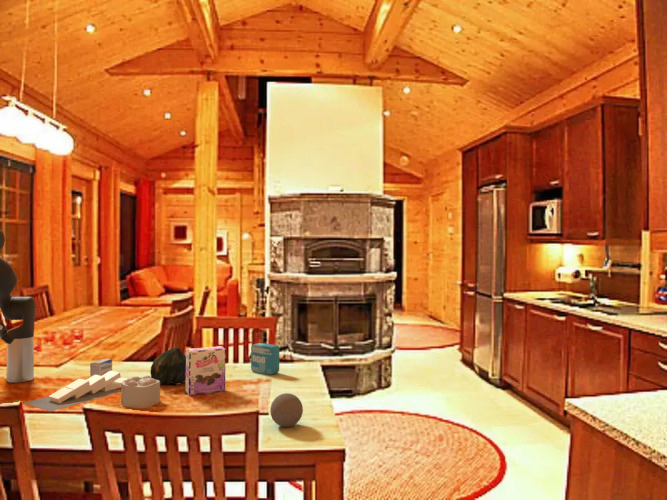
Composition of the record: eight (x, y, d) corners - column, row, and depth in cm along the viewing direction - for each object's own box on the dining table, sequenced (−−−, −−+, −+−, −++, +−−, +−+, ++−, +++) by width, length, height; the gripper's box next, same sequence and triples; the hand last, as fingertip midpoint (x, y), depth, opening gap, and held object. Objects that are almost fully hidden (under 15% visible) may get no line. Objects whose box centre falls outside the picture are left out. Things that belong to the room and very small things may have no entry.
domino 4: (105, 386, 195) (133, 379, 205) (96, 384, 198) (123, 377, 208) (105, 391, 195) (132, 384, 205) (96, 389, 198) (123, 381, 208)
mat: (23, 404, 180) (23, 402, 180) (95, 386, 203) (95, 384, 203) (49, 412, 172) (50, 411, 172) (122, 392, 195) (121, 391, 195)
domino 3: (91, 389, 190) (119, 372, 200) (82, 387, 193) (110, 370, 203) (93, 394, 191) (120, 376, 200) (84, 391, 194) (111, 374, 203)
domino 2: (75, 394, 185) (104, 376, 194) (65, 391, 188) (95, 374, 197) (76, 398, 185) (105, 381, 195) (67, 396, 188) (96, 378, 198)
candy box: (188, 396, 192) (188, 351, 192) (185, 392, 197) (185, 348, 197) (225, 391, 198) (226, 348, 198) (221, 387, 204) (221, 345, 203)
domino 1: (58, 398, 179) (88, 380, 189) (48, 396, 182) (79, 378, 192) (59, 403, 180) (90, 385, 190) (50, 400, 183) (80, 382, 193)
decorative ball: (264, 429, 160) (264, 396, 160) (279, 418, 169) (279, 387, 169) (294, 433, 156) (294, 400, 156) (307, 423, 166) (308, 391, 165)
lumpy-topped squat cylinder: (144, 409, 177) (144, 383, 177) (113, 404, 181) (113, 379, 181) (163, 400, 187) (164, 376, 187) (133, 396, 191) (133, 372, 191)
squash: (141, 368, 210) (155, 343, 204) (174, 363, 221) (189, 340, 215) (153, 397, 203) (168, 373, 196) (187, 391, 214) (202, 367, 207)
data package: (250, 371, 228) (251, 344, 228) (257, 369, 232) (257, 342, 232) (273, 375, 223) (273, 347, 222) (279, 373, 226) (279, 345, 226)
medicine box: (100, 385, 204) (100, 363, 204) (89, 384, 205) (89, 362, 205) (112, 380, 212) (112, 358, 212) (102, 379, 213) (102, 358, 213)
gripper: (-11, 299, 157) (30, 334, 167) (-33, 296, 164) (8, 330, 174) (-31, 319, 152) (13, 353, 163) (-53, 315, 159) (-9, 348, 170)
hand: (11, 341), depth 169 cm, fingers closed
